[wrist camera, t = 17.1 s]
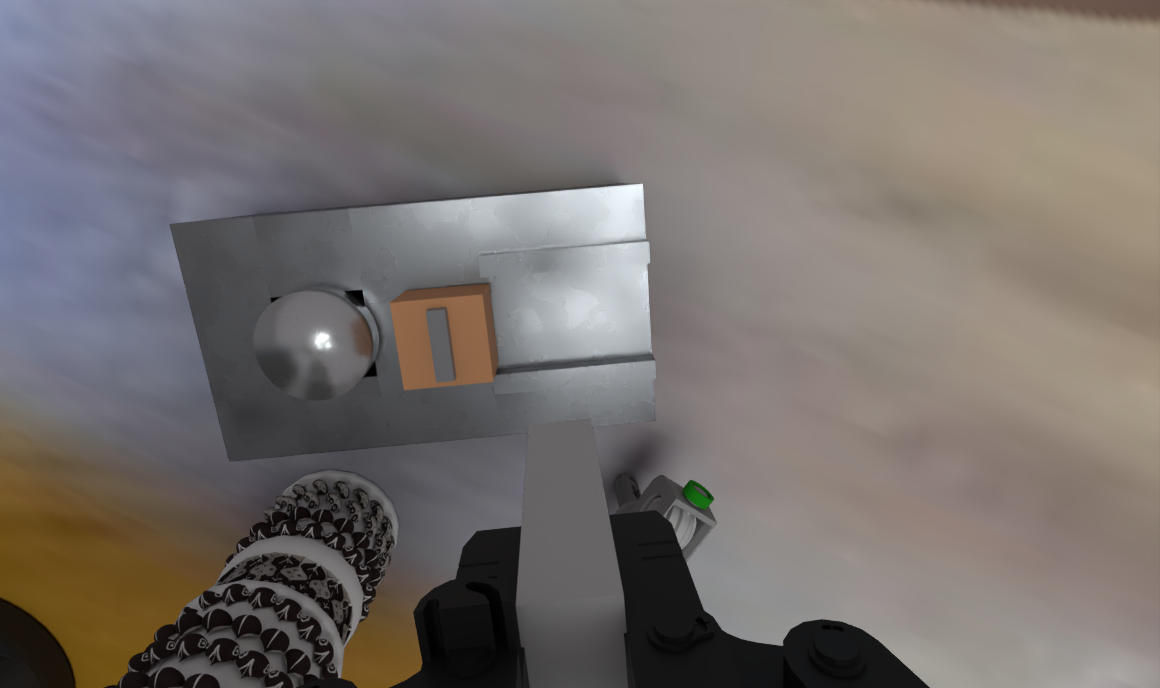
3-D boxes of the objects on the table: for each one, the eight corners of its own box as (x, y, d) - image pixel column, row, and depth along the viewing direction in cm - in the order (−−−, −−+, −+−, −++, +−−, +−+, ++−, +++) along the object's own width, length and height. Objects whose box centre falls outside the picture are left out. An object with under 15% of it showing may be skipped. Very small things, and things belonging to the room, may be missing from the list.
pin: (337, 349, 38) (266, 405, 29) (321, 267, 37) (241, 297, 28) (420, 341, 39) (377, 395, 29) (407, 259, 37) (358, 287, 28)
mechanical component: (567, 529, 43) (572, 630, 33) (651, 414, 41) (683, 485, 31) (601, 549, 43) (617, 654, 34) (686, 436, 42) (728, 513, 32)
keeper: (417, 370, 30) (400, 394, 27) (405, 290, 29) (386, 305, 26) (498, 362, 30) (492, 386, 27) (488, 283, 29) (480, 296, 26)
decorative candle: (324, 436, 40) (-12, 818, 16) (432, 521, 42) (277, 975, 18) (239, 528, 42) (-188, 1006, 18) (348, 606, 44) (99, 1132, 19)
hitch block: (295, 403, 40) (219, 470, 30) (254, 214, 36) (156, 225, 27) (633, 372, 40) (658, 428, 31) (621, 183, 37) (646, 183, 28)
